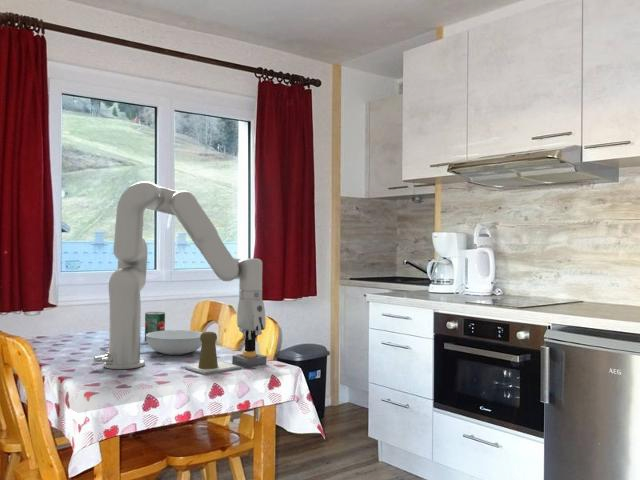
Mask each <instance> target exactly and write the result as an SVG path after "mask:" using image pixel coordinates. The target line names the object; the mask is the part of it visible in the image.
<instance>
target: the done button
mask: <svg viewBox="0 0 640 480" xmlns="http://www.w3.org/2000/svg"><path fill="white" fill-rule="evenodd" d="M242 354H243V357H246V358H252V357H256V354H257V350H256V349H255V351H251V352H247V351H245V349H243V350H242Z"/></svg>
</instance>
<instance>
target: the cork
mask: <svg viewBox="0 0 640 480" xmlns="http://www.w3.org/2000/svg"><path fill="white" fill-rule="evenodd" d="M200 340H201V342H202V346H201V347H200V353H199V354H200V355H199V361H198V365H199V366H198V367H199V368H201V369H213V368H217V367H218V363H217V362H218V357H217V356H218V355H217V347H216V342H217V340H218V336H217V333H216V332H215V331H214V332H213V331H204V332H203V331H202V334H201V336H200Z"/></svg>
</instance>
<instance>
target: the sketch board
mask: <svg viewBox="0 0 640 480" xmlns="http://www.w3.org/2000/svg"><path fill="white" fill-rule="evenodd" d="M217 363H218V367H217V368H213V369H201V368H199V367H198V366H199V364H197V365H190V366H185V370H187V371H191V372H192V373H193V372H194V373H197V374H200V375H204V376H206V375H213V374H219V373H224V372H230V371H237V370H241V369H243V367H242V366H238V365H235V364H232V363H228V362H226V361H217Z"/></svg>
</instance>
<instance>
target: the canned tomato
mask: <svg viewBox="0 0 640 480" xmlns="http://www.w3.org/2000/svg"><path fill="white" fill-rule="evenodd" d="M144 313H145V314H144V341H146V342H147V340H146V334H148V333H151V332H156V331H166V312H164V311H148V312H144Z"/></svg>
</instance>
